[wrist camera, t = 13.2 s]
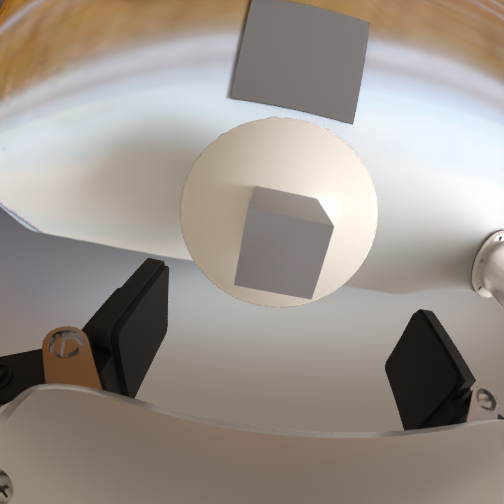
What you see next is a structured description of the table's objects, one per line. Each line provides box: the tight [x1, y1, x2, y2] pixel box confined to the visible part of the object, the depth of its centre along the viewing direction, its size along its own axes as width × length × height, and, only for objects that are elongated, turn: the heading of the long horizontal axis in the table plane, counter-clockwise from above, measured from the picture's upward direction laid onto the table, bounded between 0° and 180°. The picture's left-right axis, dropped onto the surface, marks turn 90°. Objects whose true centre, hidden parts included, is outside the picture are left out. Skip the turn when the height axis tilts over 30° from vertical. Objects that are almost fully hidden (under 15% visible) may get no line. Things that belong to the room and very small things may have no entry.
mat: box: [231, 0, 370, 124], centre depth 28 cm, size 15×15×1 cm
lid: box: [180, 117, 378, 307], centre depth 19 cm, size 15×15×10 cm
